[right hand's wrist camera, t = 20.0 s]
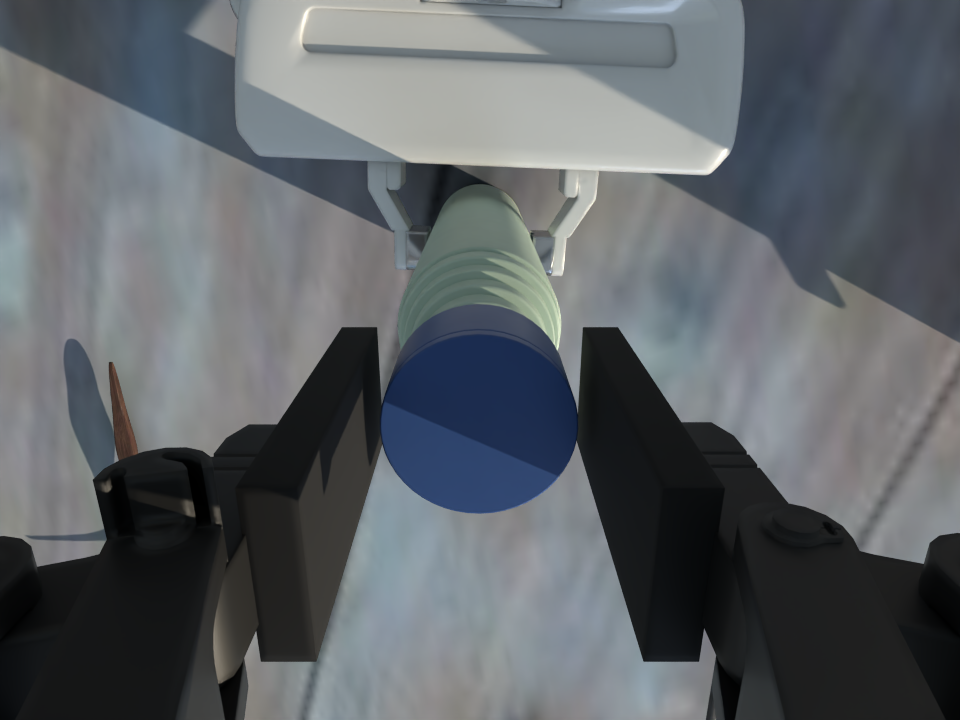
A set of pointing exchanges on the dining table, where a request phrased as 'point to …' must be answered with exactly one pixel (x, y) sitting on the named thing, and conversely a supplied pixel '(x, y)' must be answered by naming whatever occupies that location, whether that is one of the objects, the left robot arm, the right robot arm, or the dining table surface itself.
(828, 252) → the dining table surface
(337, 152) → the left robot arm
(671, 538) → the right robot arm
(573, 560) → the dining table surface
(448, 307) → the bottle
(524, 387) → the cap
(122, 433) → the fork
